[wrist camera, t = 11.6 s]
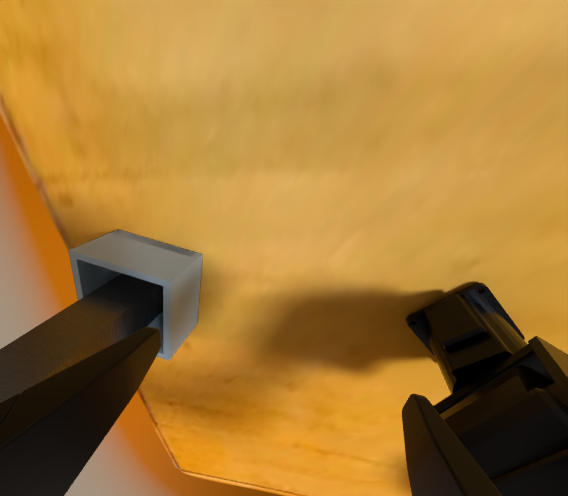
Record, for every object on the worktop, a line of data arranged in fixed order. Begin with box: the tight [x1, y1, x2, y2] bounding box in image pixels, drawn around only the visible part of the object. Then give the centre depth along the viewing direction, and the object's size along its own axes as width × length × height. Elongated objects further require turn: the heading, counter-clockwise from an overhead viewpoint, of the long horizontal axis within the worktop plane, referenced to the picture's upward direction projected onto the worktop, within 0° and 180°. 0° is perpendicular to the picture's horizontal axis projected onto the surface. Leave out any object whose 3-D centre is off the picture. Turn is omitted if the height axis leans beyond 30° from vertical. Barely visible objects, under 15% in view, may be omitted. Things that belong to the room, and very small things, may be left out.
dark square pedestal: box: [0, 273, 163, 402], centre depth 19 cm, size 5×5×13 cm
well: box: [68, 229, 203, 361], centre depth 23 cm, size 9×9×5 cm
